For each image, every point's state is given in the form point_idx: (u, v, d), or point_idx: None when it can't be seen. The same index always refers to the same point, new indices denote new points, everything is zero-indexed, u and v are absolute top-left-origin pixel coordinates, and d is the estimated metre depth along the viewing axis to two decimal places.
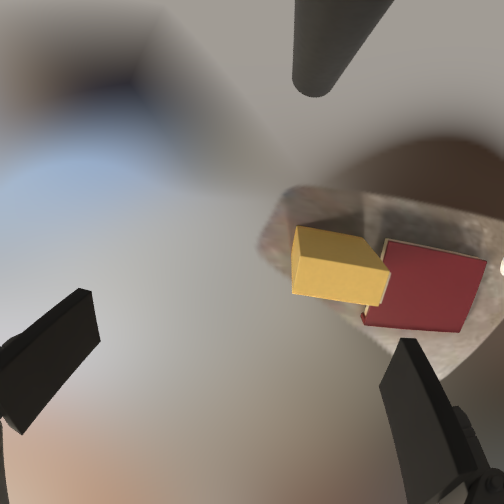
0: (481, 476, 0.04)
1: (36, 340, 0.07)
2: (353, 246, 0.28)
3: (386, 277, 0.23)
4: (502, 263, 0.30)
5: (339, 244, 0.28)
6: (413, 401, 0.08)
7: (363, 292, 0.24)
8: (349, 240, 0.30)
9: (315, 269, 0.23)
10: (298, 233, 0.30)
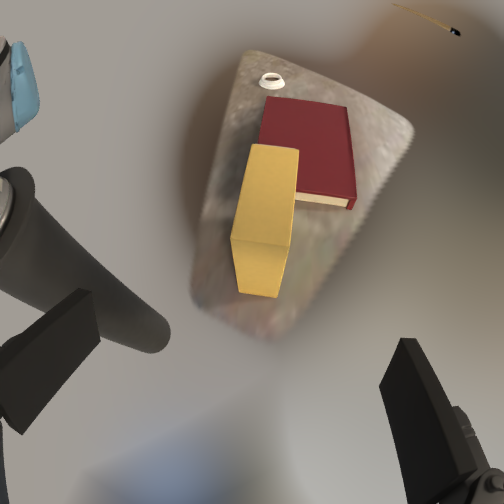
0: (481, 476, 0.04)
1: (36, 340, 0.07)
2: None
3: (259, 146, 0.20)
4: (271, 87, 0.39)
5: None
6: (413, 401, 0.08)
7: (280, 165, 0.19)
8: None
9: (250, 218, 0.18)
10: (236, 277, 0.23)
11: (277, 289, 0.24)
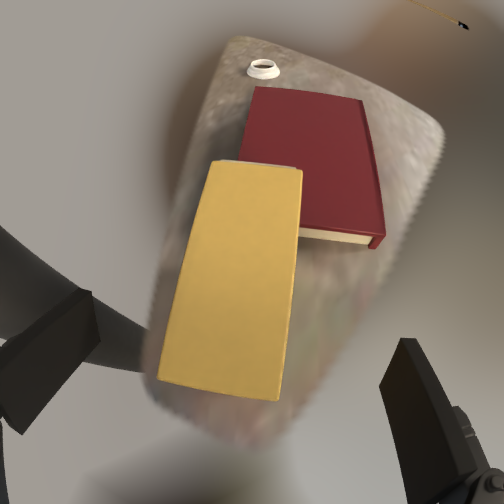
0: (481, 476, 0.04)
1: (36, 340, 0.07)
2: None
3: (227, 164, 0.11)
4: (262, 77, 0.30)
5: None
6: (413, 401, 0.08)
7: (265, 204, 0.10)
8: None
9: (198, 336, 0.08)
10: None
11: None
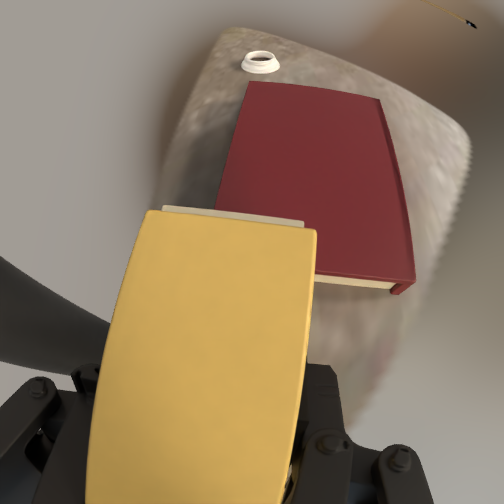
0: (308, 439, 0.06)
1: None
2: None
3: (171, 218, 0.06)
4: (259, 71, 0.25)
5: None
6: None
7: (239, 314, 0.05)
8: None
9: None
10: None
11: None
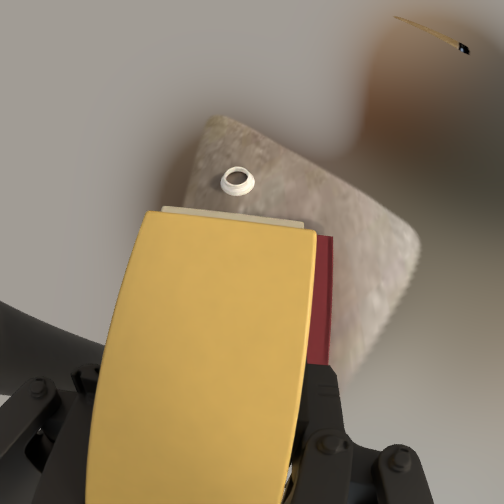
0: (308, 438, 0.06)
1: None
2: None
3: (171, 219, 0.06)
4: (235, 193, 0.33)
5: None
6: None
7: (239, 315, 0.05)
8: None
9: None
10: None
11: None
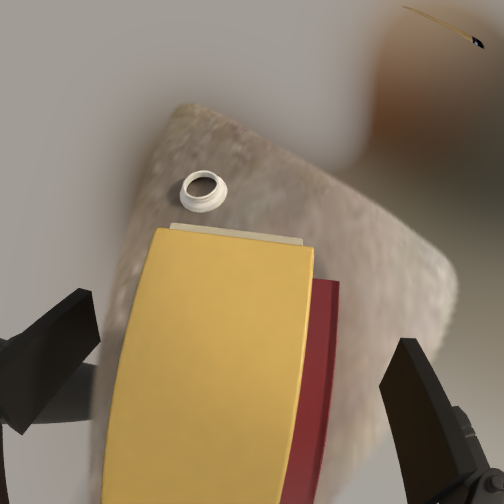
0: (481, 476, 0.04)
1: (36, 340, 0.07)
2: None
3: (179, 236, 0.06)
4: (199, 209, 0.23)
5: None
6: (413, 401, 0.08)
7: (243, 326, 0.05)
8: None
9: None
10: None
11: None
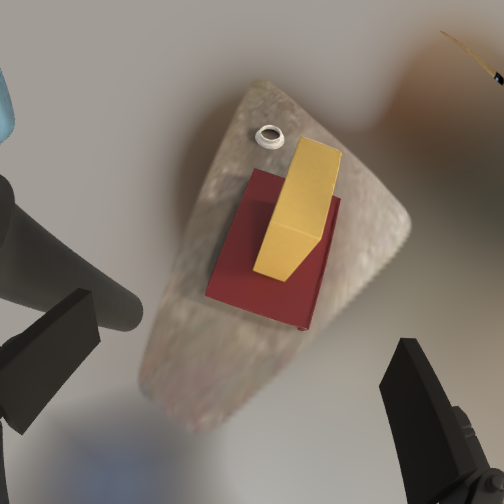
0: (481, 476, 0.04)
1: (36, 340, 0.07)
2: None
3: (307, 140, 0.21)
4: (267, 146, 0.38)
5: None
6: (413, 401, 0.08)
7: (324, 162, 0.21)
8: None
9: (291, 207, 0.19)
10: None
11: (292, 271, 0.26)
